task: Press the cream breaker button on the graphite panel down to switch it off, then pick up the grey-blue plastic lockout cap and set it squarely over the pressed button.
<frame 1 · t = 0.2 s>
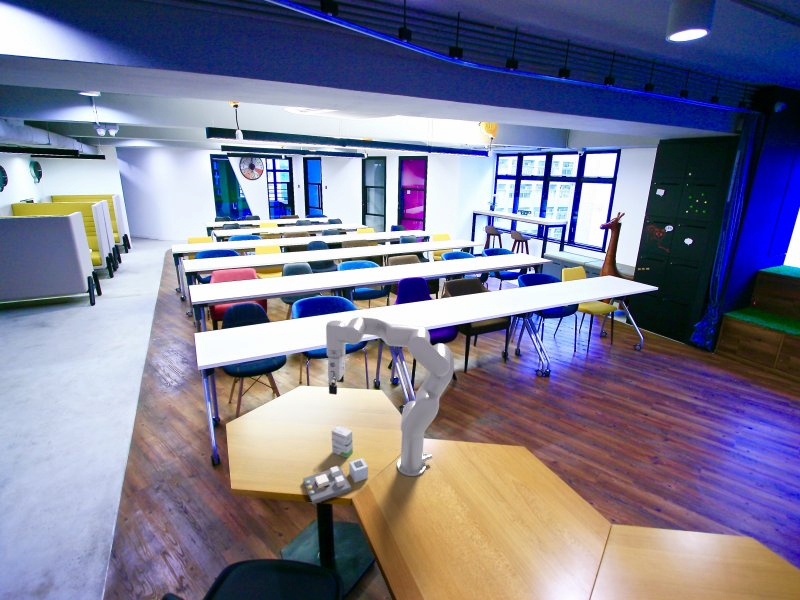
hand: (336, 387, 173), 37 cm above the table, tool pointing down, fingers open, 9 cm apart
breaker button: (322, 480, 167), point 4 cm above the table, slide at 0.0 cm
lockout cap: (358, 475, 175), on the table
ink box: (342, 452, 189), on the table
breaker panel: (327, 486, 169), on the table
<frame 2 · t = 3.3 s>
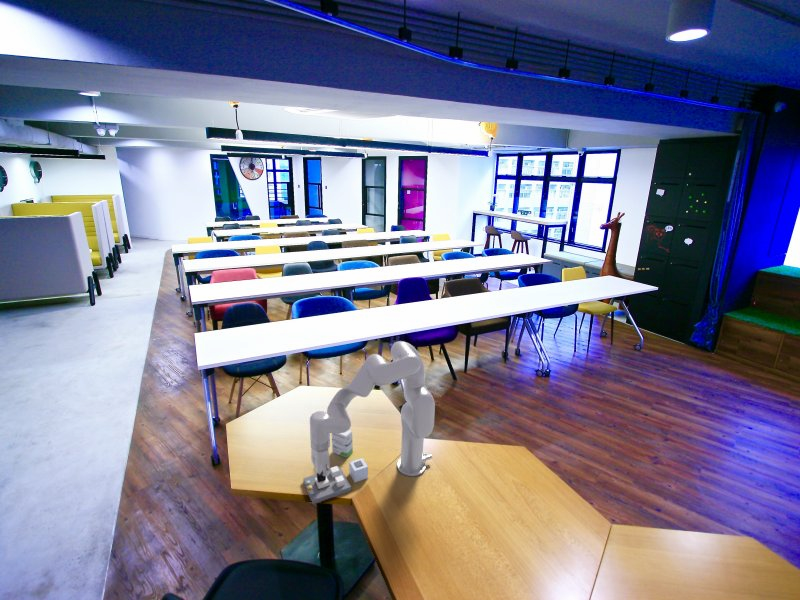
hand: (321, 479, 167), 4 cm above the table, tool pointing down, fingers closed
breaker button: (322, 481, 167), point 3 cm above the table, slide at 0.5 cm, touching gripper
everything else where it was.
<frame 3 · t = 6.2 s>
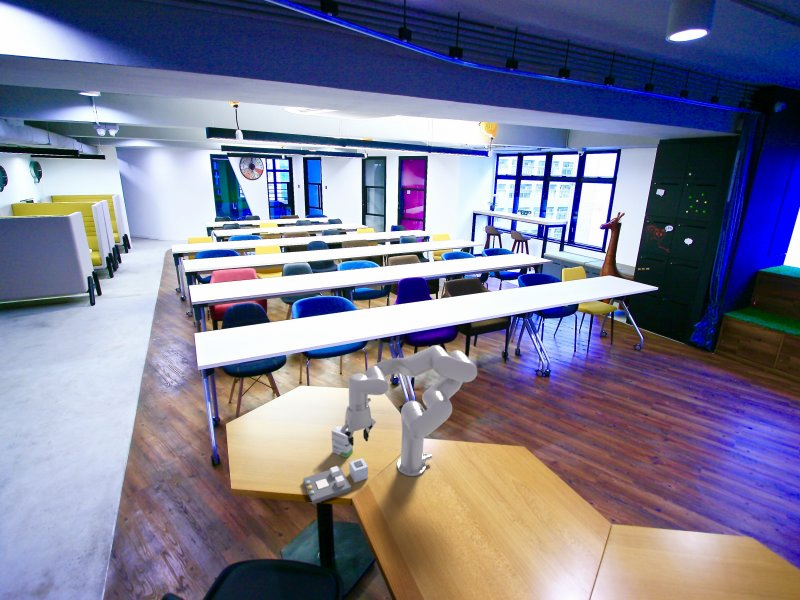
hand: (358, 441, 170), 18 cm above the table, tool pointing down, fingers open, 5 cm apart
breaker button: (322, 485, 168), point 1 cm above the table, slide at 2.4 cm
everything else where it was.
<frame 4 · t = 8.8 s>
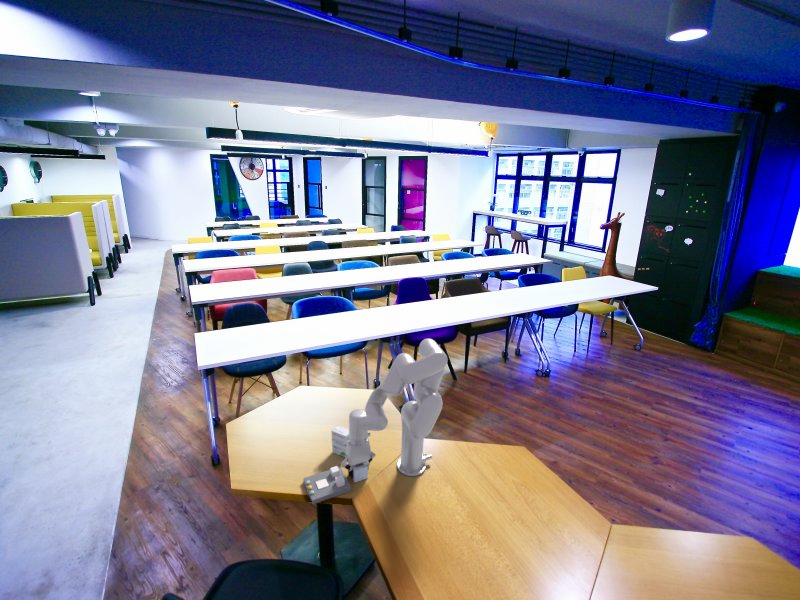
hand: (358, 473, 175), 1 cm above the table, tool pointing down, fingers closed on lockout cap, 5 cm apart
lockout cap: (358, 475, 175), on the table, touching gripper
everything else where it was.
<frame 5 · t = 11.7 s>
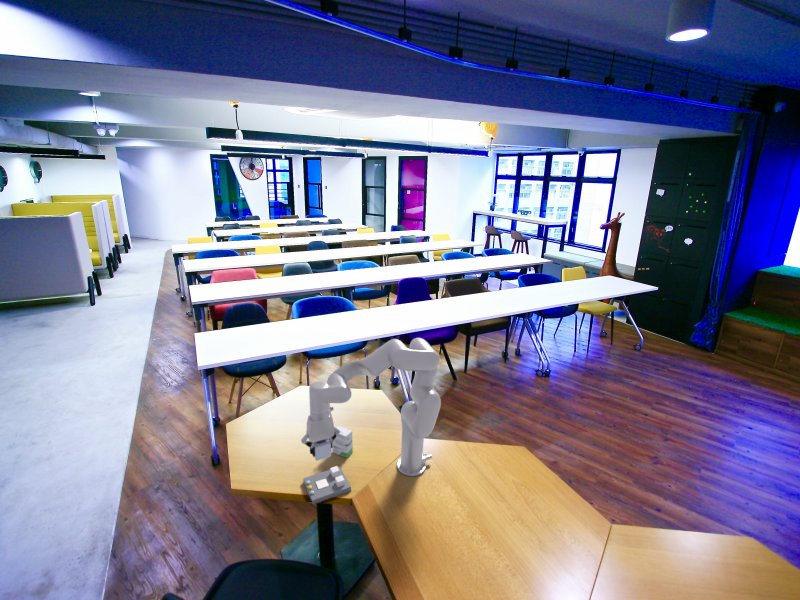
hand: (321, 451, 162), 18 cm above the table, tool pointing down, fingers closed on lockout cap, 5 cm apart
lockout cap: (321, 453, 163), point 17 cm above the table, touching gripper
everything else where it was.
when the fingers open (5 cm above the table, at t = 14.7 s): lockout cap drops 1 cm, resting on breaker panel.
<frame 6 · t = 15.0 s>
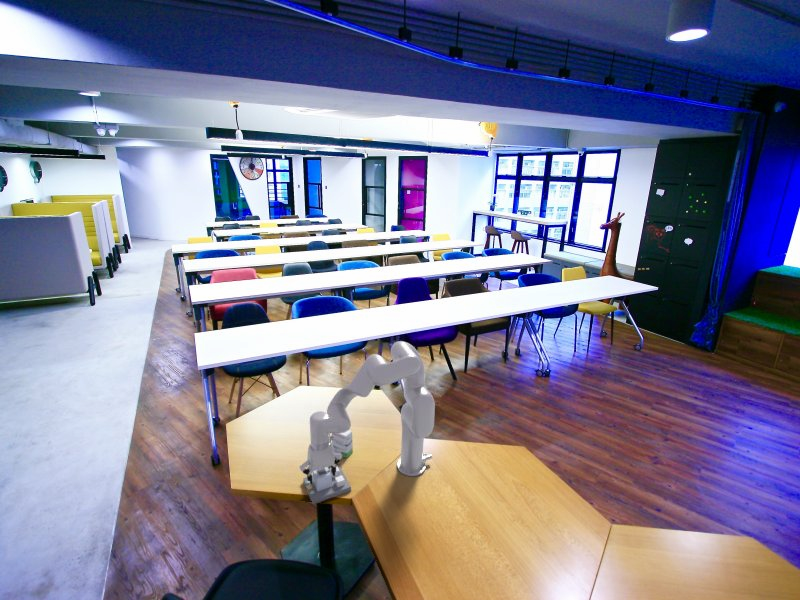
hand: (321, 477, 166), 5 cm above the table, tool pointing down, fingers open, 9 cm apart
breaker button: (322, 486, 168), point 1 cm above the table, slide at 2.7 cm
lockout cap: (322, 483, 167), point 2 cm above the table, touching breaker panel
everything else where it was.
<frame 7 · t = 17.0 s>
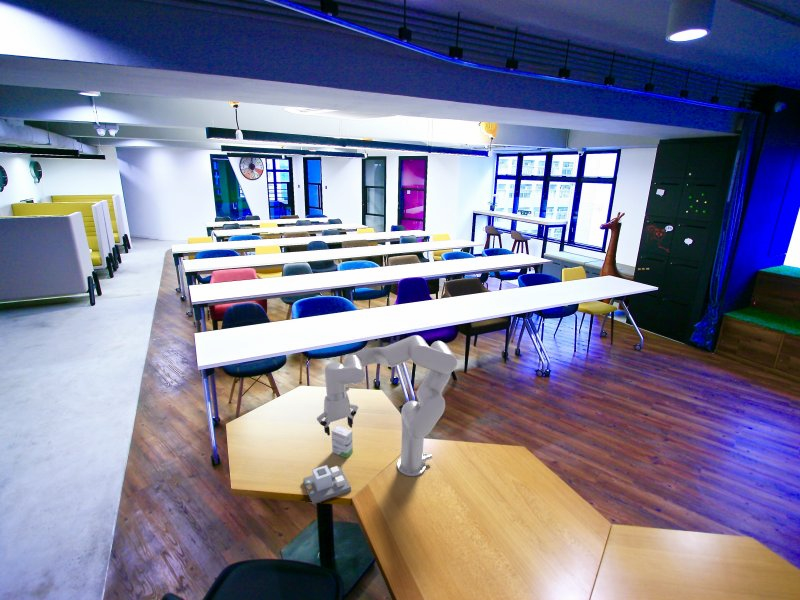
hand: (339, 429, 167), 23 cm above the table, tool pointing down, fingers open, 9 cm apart
nothing on the table moved.
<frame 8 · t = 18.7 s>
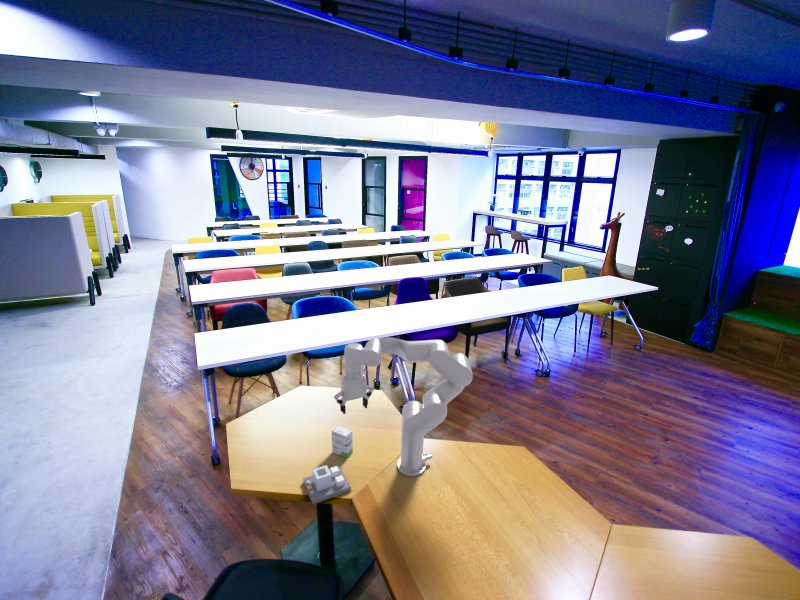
hand: (354, 409, 173), 28 cm above the table, tool pointing down, fingers open, 9 cm apart
nothing on the table moved.
at the end: breaker button slide at 2.7 cm; lockout cap 0.1 cm from the target spot on the breaker panel, point 2.0 cm above the breaker panel's base; lockout cap tilted 0° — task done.
